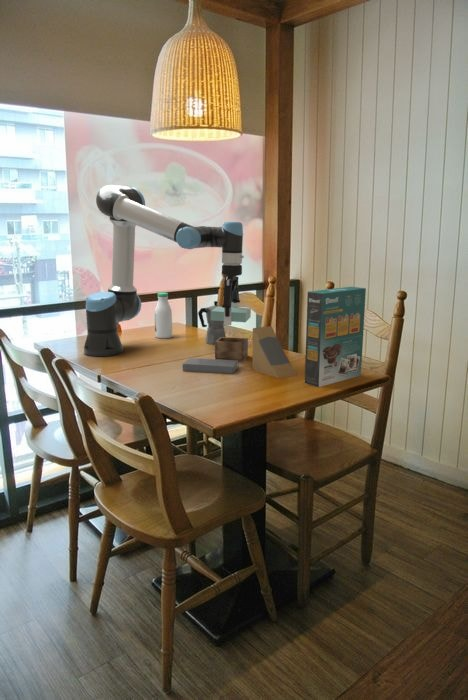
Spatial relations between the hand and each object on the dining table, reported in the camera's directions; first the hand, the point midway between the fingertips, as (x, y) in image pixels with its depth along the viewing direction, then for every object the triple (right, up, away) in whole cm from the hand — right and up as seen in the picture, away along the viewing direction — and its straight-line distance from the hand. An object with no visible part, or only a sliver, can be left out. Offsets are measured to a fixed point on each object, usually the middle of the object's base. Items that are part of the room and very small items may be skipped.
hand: (230, 322), depth 214 cm
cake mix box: (+35, -21, -26) cm, 48 cm away
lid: (0, +1, 0) cm, 1 cm away
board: (-7, -17, -13) cm, 23 cm away
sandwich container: (+15, -19, -17) cm, 29 cm away
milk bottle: (-31, -5, +41) cm, 51 cm away
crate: (0, -14, +3) cm, 14 cm away
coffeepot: (-8, -8, +29) cm, 31 cm away
